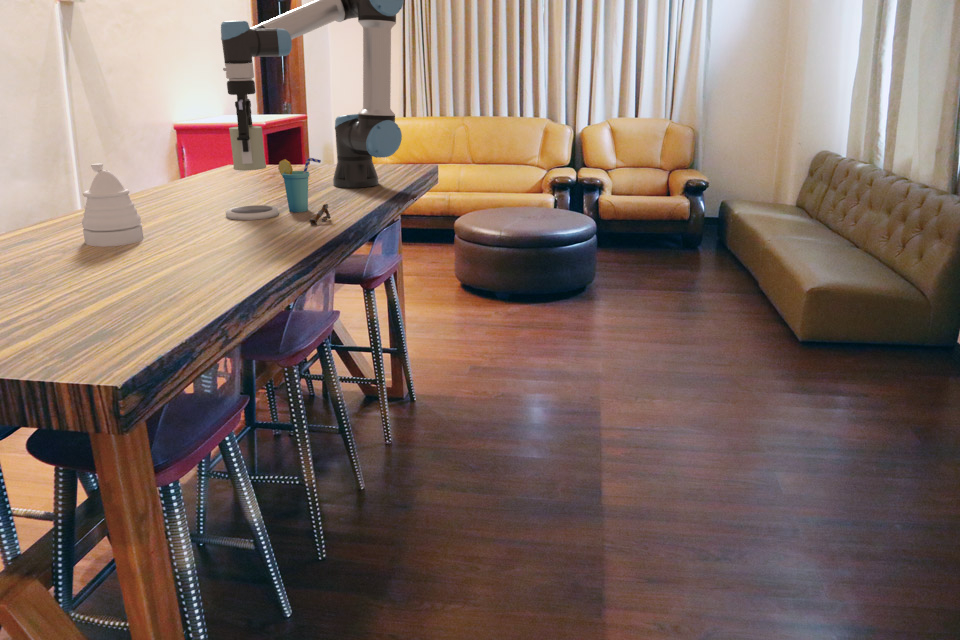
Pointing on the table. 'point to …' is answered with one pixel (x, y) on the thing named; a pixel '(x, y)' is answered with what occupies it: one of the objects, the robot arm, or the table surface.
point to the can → (256, 149)
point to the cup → (296, 185)
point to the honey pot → (109, 212)
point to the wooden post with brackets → (320, 213)
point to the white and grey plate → (252, 212)
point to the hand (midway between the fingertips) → (249, 161)
